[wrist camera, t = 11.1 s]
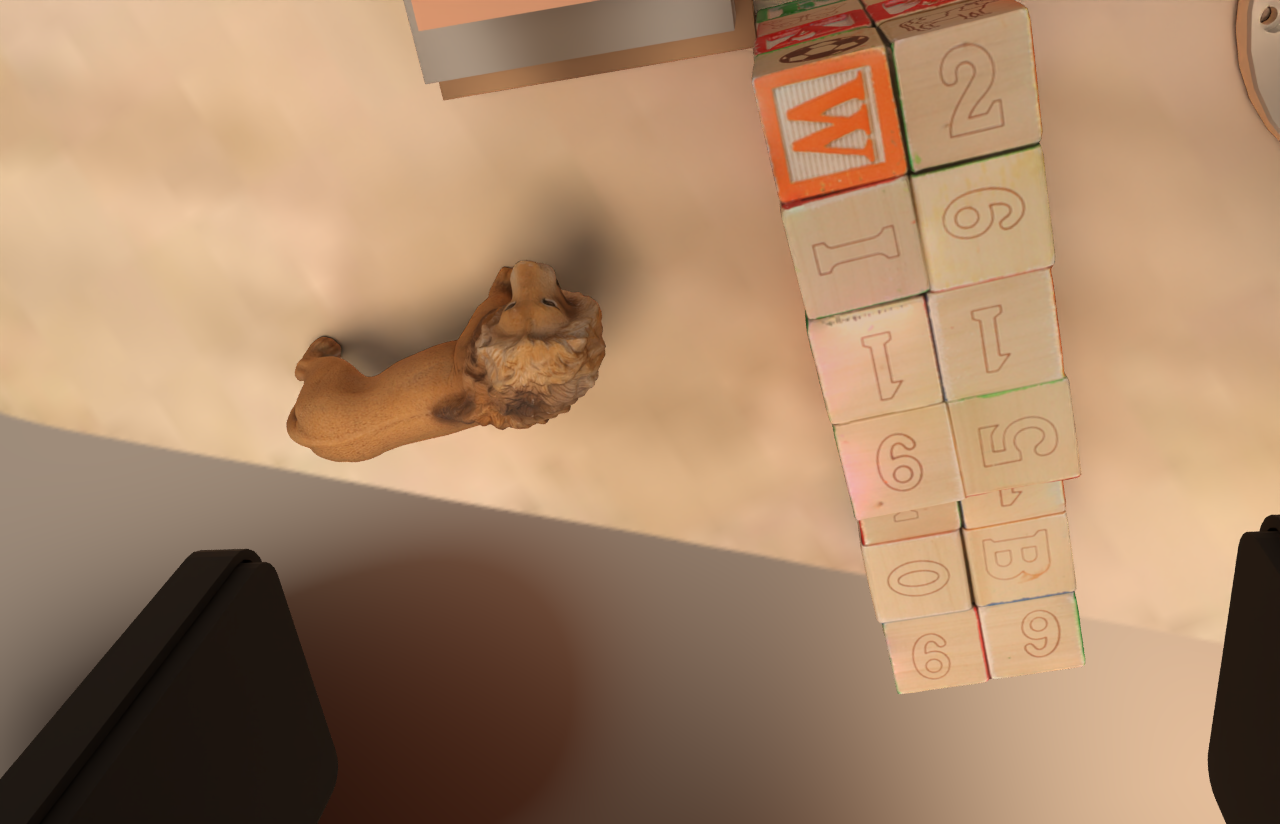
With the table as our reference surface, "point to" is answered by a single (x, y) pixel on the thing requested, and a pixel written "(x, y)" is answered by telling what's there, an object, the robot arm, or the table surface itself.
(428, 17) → the terracotta brick
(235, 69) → the table surface
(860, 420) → the stack of blocks
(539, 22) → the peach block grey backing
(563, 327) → the lion figurine
